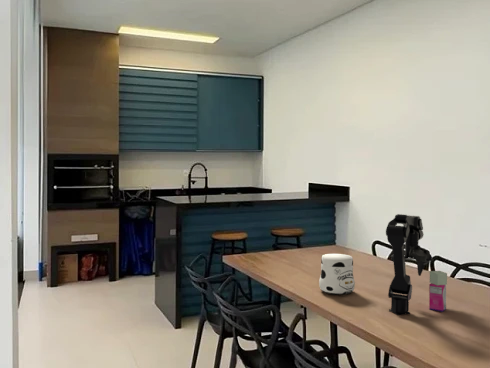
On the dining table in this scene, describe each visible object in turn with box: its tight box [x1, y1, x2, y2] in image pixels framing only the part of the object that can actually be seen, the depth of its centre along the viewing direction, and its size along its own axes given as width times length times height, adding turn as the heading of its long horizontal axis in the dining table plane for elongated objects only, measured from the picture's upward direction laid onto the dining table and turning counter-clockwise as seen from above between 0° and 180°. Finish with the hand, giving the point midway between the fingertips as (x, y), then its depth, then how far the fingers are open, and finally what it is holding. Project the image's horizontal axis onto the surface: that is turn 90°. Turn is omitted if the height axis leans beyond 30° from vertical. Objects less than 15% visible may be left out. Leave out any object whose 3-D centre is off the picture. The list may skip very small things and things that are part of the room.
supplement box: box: [428, 283, 447, 313], centre depth 203 cm, size 6×6×12 cm
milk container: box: [318, 253, 356, 296], centre depth 228 cm, size 17×17×18 cm
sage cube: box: [429, 270, 448, 286], centre depth 203 cm, size 5×5×5 cm
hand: (411, 276), depth 213 cm, fingers open, 9 cm apart
